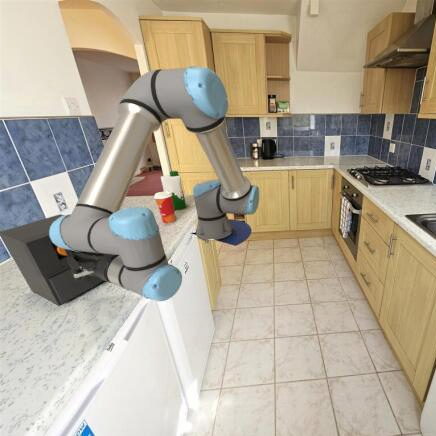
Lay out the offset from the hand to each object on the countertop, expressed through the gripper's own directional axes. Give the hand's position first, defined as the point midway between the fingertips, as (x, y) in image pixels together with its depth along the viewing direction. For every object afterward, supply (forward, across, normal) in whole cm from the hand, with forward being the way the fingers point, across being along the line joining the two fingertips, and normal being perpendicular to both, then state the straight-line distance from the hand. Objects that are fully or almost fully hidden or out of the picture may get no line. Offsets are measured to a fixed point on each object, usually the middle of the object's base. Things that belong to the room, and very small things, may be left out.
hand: (68, 248), depth 66 cm
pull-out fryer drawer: (+6, 0, -14) cm, 15 cm away
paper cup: (+21, +47, -15) cm, 53 cm away
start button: (+2, 0, -2) cm, 2 cm away
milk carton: (+32, +61, -15) cm, 71 cm away
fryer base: (+8, 0, -14) cm, 17 cm away
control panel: (+8, 0, -5) cm, 10 cm away
